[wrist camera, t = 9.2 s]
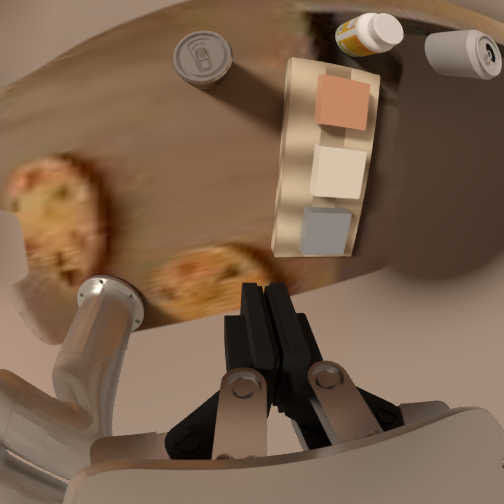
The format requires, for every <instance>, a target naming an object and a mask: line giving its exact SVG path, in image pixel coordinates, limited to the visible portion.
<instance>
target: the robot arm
mask: <svg viewBox="0 0 504 504" xmlns="http://www.w3.org/2000/svg"><path fill="white" fill-rule="evenodd" d="M77 302H78V306H79V310H78V312H77V314H76V316H75V318H74V320H73V322H72V324H71V326H70V329H69V331H68V333H67V335H66V337H65V340H64V342H63V344H62V347H61V349H60V351H59V354H58V356H57V358H56V361H55V364H54V367H53V372H52V380H53V386H54V390H55V393H56V396H57V399H56V398H53V397H51V396H50V395H48V394H46V393H45V392H43V391H41V390H40V389H38V388H36V387H35V386H33V385H31V384H30V383H28V382H27V381H25V380H24V379H22V378H21V377H19V376H18V375H16V374H14V373H13V372H10V371H8V370H6V369H0V504H504V430H503V428H502V427H501V425H500V424H499V422H498V421H497V419H496V418H495V417H494V416H493V415H492V413H490V412H489V411H488V410H486V409H483V408H480V407H458V408H453V409H450V408H449V406H448V405H447V404H445V403H444V402H442V401H428V402H418V403H406V404H405V403H404V404H400V405H399V406H395V405H394V404H392V403H390V402H388V401H386V400H384V399H382V398H379V397H377V396H375V395H373V394H371V393H369V392H367V391H364V390H363V389H360V388H358V387H356V386H355V385H354V383H353V381H352V380H351V378H350V376H349V375H348V373H347V372H346V370H345V369H344V368H343V367H342V366H340V365H339V364H337V363H335V362H332V361H323V358H322V356H321V353H320V351H319V348H318V346H317V343H316V341H315V338H314V335H313V333H312V330H311V328H310V325H309V322H308V320H307V317H306V315H305V314H304V313H296V312H295V310H294V307H293V304H292V301H291V299H290V296H289V293H288V290H287V288H286V285H285V283H284V282H271V283H270V285H269V286H265V290H264V293H263V289H262V286H257V283H242V295H241V311H240V315H238V316H234V315H233V316H225V317H224V339H225V340H224V341H225V357H226V369H227V373H226V374H225V375H224V376H223V378H222V381H221V386H220V390H219V391H218V392H216V393H215V394H214V395H213V396H212V397H211V398H209V399H208V400H207V401H206V402H205V403H203V404H202V405H201V406H200V407H198V408H197V409H196V410H195V411H194V412H192V413H191V414H190V415H189V416H187V417H186V418H185V419H184V420H182V421H181V422H180V423H179V424H177V425H176V426H175V427H173V428H172V429H171V430H170V431H169V432H167V433H160V434H157V433H156V432H151V433H143V434H134V435H123V436H112V417H113V407H114V401H115V396H116V390H117V386H118V382H119V377H120V373H121V368H122V364H123V360H124V355H125V351H126V349H127V344H128V339H129V336H130V332H132V331H134V330H136V329H137V328H138V327H139V326H140V325H141V323H142V321H143V318H144V304H143V301H142V299H141V297H140V296H139V294H138V293H137V292H136V291H135V290H134V288H133V287H131V286H130V285H129V284H127V283H126V282H124V281H122V280H121V279H118V278H116V277H112V276H108V275H97V276H93V277H90V278H88V279H87V280H85V281H84V282H83V283H82V285H81V287H80V288H79V291H78V294H77ZM271 404H273V406H277V407H278V411H279V413H283V412H285V415H286V416H287V417H289V418H291V422H292V425H293V428H294V430H295V432H296V435H297V437H298V439H299V442H300V444H301V446H302V448H303V450H304V451H303V452H296V453H290V454H283V455H275V456H267V418H268V416H269V412H270V408H271ZM6 449H8V450H9V451H11V452H13V453H14V454H16V455H18V456H20V457H22V458H23V459H25V460H27V461H29V462H31V463H33V464H34V465H36V466H38V467H40V468H42V469H44V470H47V471H49V472H51V473H53V474H55V475H57V476H60V477H62V478H65V479H67V480H70V482H69V484H66V483H65V482H63V481H61V480H59V479H57V478H55V477H53V476H51V475H49V474H47V473H45V472H42V471H40V470H38V469H36V468H34V467H32V466H30V465H28V464H26V463H24V462H23V461H21V460H19V459H17V458H15V457H14V456H12V455H10V454H9V453H8V452H7V450H6Z"/></svg>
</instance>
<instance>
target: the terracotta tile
mask: <svg viewBox="0 0 504 504" xmlns="http://www.w3.org/2000/svg"><path fill="white" fill-rule="evenodd" d="M369 93H370V84H367V83H363V82H359V81H355V80H350V79H346V78H341V77H336V76H331V75H325V74H323V75H318V83H317V95H316V107H315V118H314V122H315V123H319V124H325V125H333V126H340V127H346V128H352V129H358V130H364V131H365V130H366V122H367V113H368V104H369Z"/></svg>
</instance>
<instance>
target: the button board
mask: <svg viewBox="0 0 504 504" xmlns="http://www.w3.org/2000/svg"><path fill="white" fill-rule="evenodd" d="M323 74H325V75H331V76H336V77H341V78H346V79H350V80H355V81H359V82H363V83H367V84H370V93H369V104H368V113H367V122H366V130H365V131H364V130H358V129H352V128H346V127H340V126H333V125H325V124H319V123H315V122H314V118H315V107H316V95H317V83H318V75H323ZM379 85H380V76H379V75H376V74H372V73H369V72H365V71H361V70H357V69H353V68H348V67H344V66H339V65H335V64H330V63H324V62H319V61H313V60H307V59H301V58H294V57H292V58H290V59H289V60H287V64H286V79H285V93H284V107H283V120H282V133H281V145H280V157H279V169H278V180H277V191H276V202H275V213H274V223H273V234H272V244H271V248H272V251H273V253H274V256H275V257H321V256H351V254H352V250H353V246H354V241H355V237H356V233H357V228H358V224H359V219H360V214H361V209H362V204H363V199H364V194H365V189H366V183H367V178H368V172H369V166H370V160H371V153H372V146H373V139H374V132H375V124H376V116H377V106H378V96H379ZM315 143H316V144H325V145H333V146H341V147H349V148H356V149H361V150H363V151H366V152H367V156H366V162H365V169H364V175H363V180H362V186H361V192H360V197H359V199H352V198H337V197H319V196H314V195H313V194H312V193H311V192H310V191H309V190H310V182H311V174H312V166H313V157H314V148H315ZM304 207H327V208H346V209H347V210H348V211H349V212H350V213H351V214H352V216H351V221H350V226H349V230H348V235H347V240H346V244H345V249H344V253H343V254H319V255H302V253H301V251H300V249H299V242H300V235H301V228H302V220H303V213H304Z"/></svg>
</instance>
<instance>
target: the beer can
mask: <svg viewBox="0 0 504 504" xmlns="http://www.w3.org/2000/svg"><path fill="white" fill-rule="evenodd" d="M232 59H233V54H232V48H231V46H230V44H229V42H228V41H227V40H226V39H225V38H224V37H223V36H221V35H219V34H217V33H215V32H212V31H204V30H203V31H197V32H193V33H191V34H189V35H186V36H185V37H184V38H183V39H182V40H181V41H179V43H178V45H177V46H176V48H175V49H174V53H173V57H172V60H173V67H174V69H175V71H176V73H177V74H178V75H179V76H180V77H181V78H182V79H183V80H185V81H186V82H188V83H189V84H190V85H192V86H194V87H196V88H198V89H204V90H206V89H212V88H215V87H217V86H219V85H220V84H221V83H222V82H223V81H224V80H225V78H226V77H227V74H228V72H229V69H230V67H231V63H232Z"/></svg>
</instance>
